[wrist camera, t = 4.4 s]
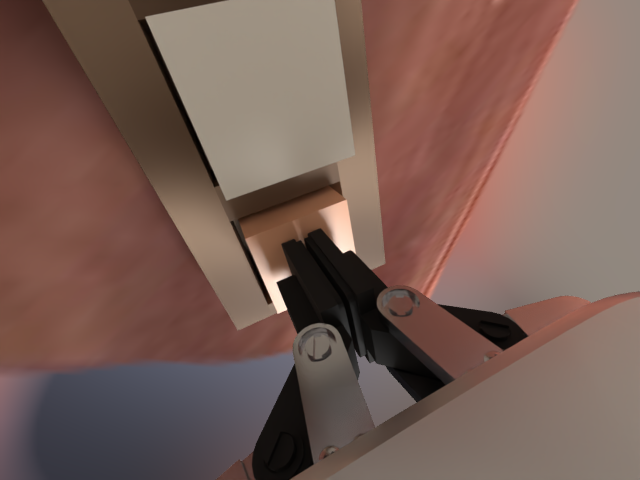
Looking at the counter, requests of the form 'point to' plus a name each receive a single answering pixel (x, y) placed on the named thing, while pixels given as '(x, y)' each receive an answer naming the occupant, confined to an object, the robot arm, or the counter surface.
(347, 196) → the button board
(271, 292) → the peach square block
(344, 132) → the cream button
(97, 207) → the counter surface
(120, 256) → the counter surface
